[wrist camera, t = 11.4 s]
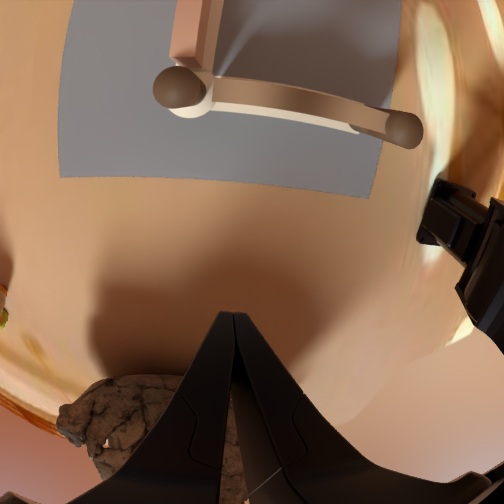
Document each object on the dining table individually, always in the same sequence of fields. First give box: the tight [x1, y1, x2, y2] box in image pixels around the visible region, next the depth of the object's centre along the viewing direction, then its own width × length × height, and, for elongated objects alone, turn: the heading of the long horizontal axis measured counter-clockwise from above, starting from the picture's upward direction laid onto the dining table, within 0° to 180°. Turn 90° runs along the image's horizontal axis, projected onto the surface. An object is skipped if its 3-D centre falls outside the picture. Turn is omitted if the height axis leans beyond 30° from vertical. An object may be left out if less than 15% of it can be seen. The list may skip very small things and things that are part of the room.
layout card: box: [58, 0, 401, 199], centre depth 13 cm, size 24×22×1 cm
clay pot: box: [56, 374, 249, 504], centre depth 23 cm, size 25×24×22 cm
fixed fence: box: [153, 66, 423, 149], centre depth 14 cm, size 14×2×6 cm, turn 82°
